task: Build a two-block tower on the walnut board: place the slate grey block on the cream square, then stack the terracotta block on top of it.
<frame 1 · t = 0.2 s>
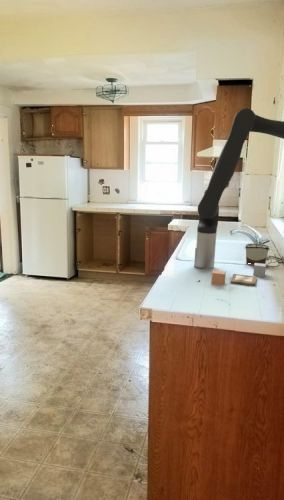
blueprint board: (243, 280, 163), on the counter
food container: (254, 263, 194), on the counter
slate block: (259, 275, 173), on the counter
terracotta block: (218, 283, 159), on the counter
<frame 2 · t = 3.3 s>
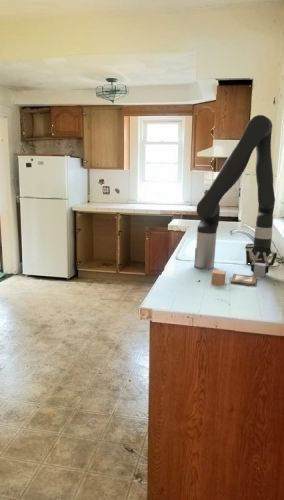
hand: (259, 272, 173), 1 cm above the counter, tool pointing down, fingers closed on slate block, 5 cm apart
slate block: (259, 274, 173), on the counter, touching gripper
everything else where it was.
when the fingers open (3 cm above the counter, at t = 9.6 s): slate block drops 1 cm, resting on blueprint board.
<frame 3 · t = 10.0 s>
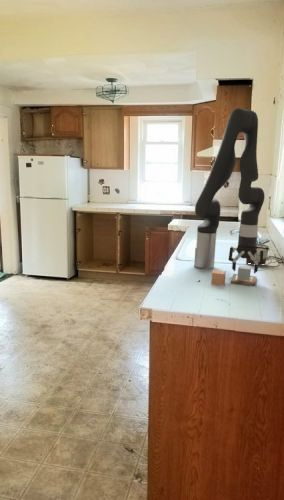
hand: (244, 271, 162), 4 cm above the counter, tool pointing down, fingers open, 8 cm apart
slate block: (243, 278, 163), point 1 cm above the counter, touching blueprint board
everything else where it was.
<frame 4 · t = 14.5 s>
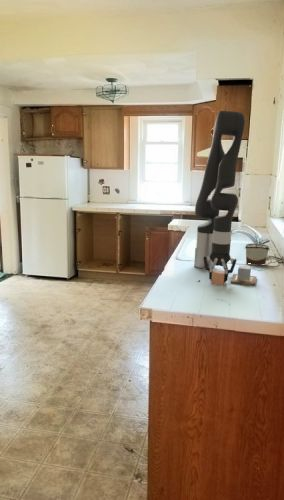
hand: (218, 281, 158), 1 cm above the counter, tool pointing down, fingers closed on terracotta block, 5 cm apart
terracotta block: (218, 283, 159), on the counter, touching gripper
everything else where it was.
when the fingers open (8 cm above the counter, at t = 20.0 s): terracotta block drops 1 cm, resting on slate block.
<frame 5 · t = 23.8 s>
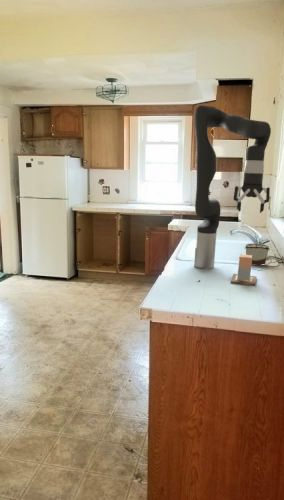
hand: (250, 211, 156), 30 cm above the counter, tool pointing down, fingers open, 8 cm apart
slate block: (243, 278, 163), point 1 cm above the counter, touching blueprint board, terracotta block
terracotta block: (244, 267, 162), point 6 cm above the counter, touching slate block
everything else where it was.
at the end: slate block 0.1 cm off-centre on the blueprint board, point 1.1 cm above the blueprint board's base; terracotta block 0.1 cm off-centre on the slate block, point 5.0 cm above the slate block's base; terracotta block tilted 0° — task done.
